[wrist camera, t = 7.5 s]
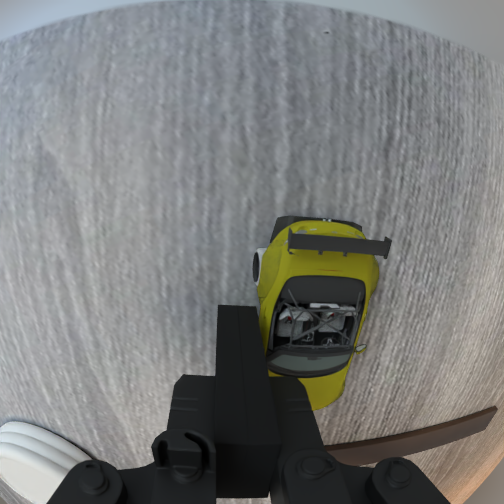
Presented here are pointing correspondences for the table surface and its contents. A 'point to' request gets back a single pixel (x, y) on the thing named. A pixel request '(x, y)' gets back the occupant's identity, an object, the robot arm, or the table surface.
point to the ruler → (410, 440)
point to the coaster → (35, 460)
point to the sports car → (315, 300)
